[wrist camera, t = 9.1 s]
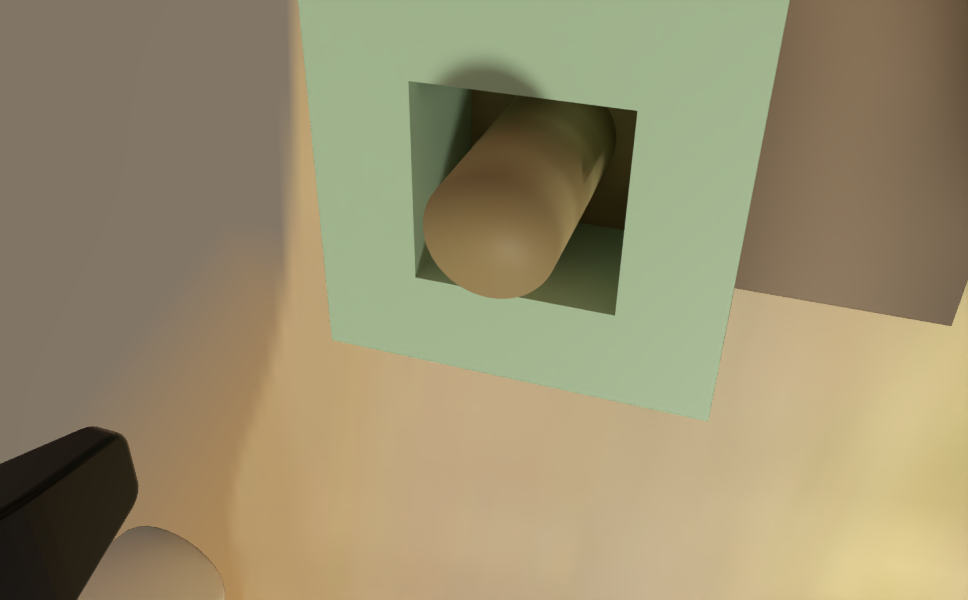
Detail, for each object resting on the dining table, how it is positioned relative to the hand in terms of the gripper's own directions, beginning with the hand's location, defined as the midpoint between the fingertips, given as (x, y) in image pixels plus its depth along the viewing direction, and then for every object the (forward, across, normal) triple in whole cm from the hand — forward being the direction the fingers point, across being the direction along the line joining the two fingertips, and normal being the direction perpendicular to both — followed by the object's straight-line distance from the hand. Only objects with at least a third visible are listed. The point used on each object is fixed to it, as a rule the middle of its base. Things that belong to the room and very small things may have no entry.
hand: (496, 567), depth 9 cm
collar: (+7, +1, -2) cm, 7 cm away
